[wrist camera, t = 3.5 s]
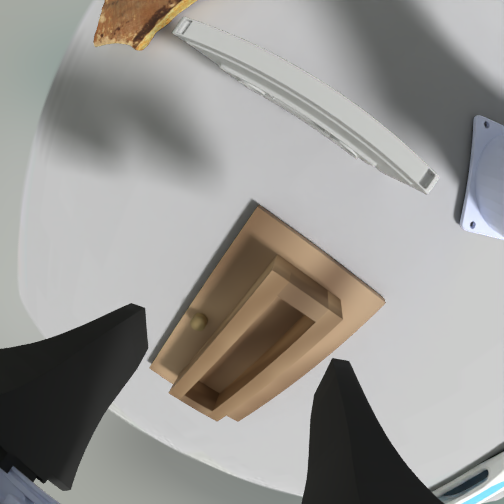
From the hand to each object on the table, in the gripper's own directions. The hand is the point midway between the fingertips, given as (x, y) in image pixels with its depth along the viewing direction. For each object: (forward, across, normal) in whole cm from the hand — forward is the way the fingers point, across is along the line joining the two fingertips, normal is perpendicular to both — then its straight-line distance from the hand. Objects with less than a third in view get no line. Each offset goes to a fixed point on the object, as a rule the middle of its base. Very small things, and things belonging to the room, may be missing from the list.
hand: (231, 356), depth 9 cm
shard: (+12, +9, -22) cm, 26 cm away
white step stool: (+11, -56, +42) cm, 71 cm away
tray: (+10, 0, +9) cm, 14 cm away
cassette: (+11, 0, -9) cm, 14 cm away
